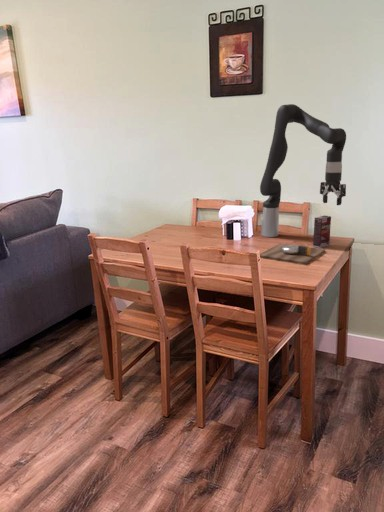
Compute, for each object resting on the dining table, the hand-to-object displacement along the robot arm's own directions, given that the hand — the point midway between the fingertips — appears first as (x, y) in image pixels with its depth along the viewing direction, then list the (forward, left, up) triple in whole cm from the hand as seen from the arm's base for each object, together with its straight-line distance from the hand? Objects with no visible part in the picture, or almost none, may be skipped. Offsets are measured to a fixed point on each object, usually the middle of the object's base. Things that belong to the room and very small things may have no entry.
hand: (331, 204), depth 212 cm
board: (-14, -15, -24) cm, 32 cm away
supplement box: (-7, +7, -24) cm, 26 cm away
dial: (-11, -16, -23) cm, 30 cm away
